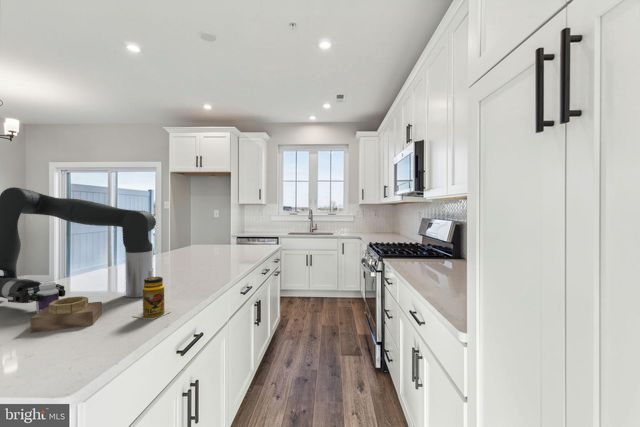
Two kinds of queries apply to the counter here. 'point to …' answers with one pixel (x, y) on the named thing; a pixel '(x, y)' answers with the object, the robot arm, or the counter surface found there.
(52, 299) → the pill bottle
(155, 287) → the condiment
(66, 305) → the wooden bottle holder
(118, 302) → the counter surface
